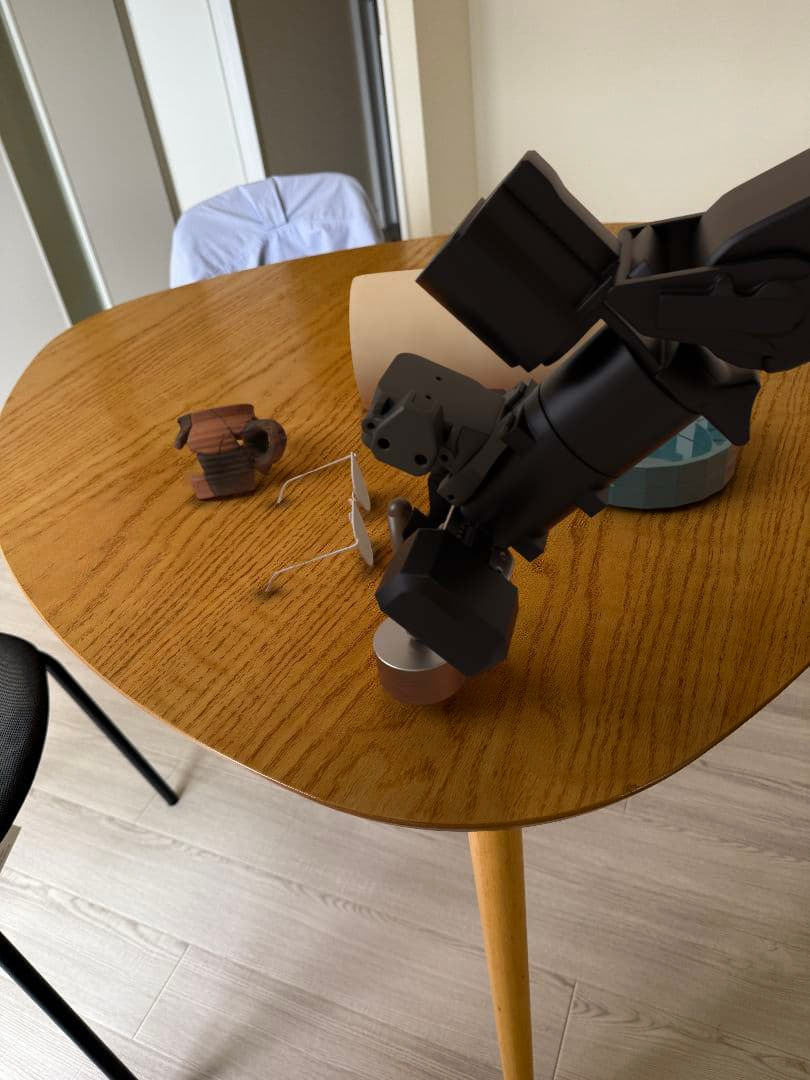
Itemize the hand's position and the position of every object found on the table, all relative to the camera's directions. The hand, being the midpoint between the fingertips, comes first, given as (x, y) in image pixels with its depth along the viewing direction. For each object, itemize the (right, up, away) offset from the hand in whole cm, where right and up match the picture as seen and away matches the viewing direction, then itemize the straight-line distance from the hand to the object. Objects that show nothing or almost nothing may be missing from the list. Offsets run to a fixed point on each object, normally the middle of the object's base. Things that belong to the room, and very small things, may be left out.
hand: (388, 589), depth 46 cm
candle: (+10, +18, +38) cm, 43 cm away
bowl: (+22, +9, +23) cm, 33 cm away
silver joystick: (+2, -5, +3) cm, 7 cm away
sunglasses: (-6, +3, +20) cm, 21 cm away
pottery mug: (-15, +9, +30) cm, 35 cm away
